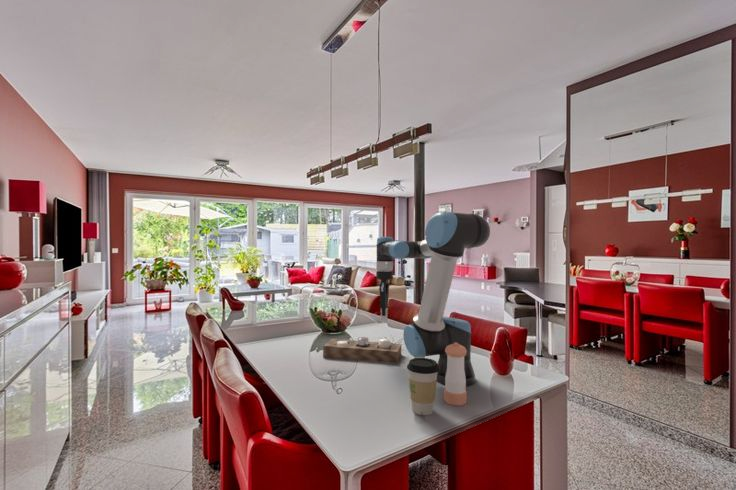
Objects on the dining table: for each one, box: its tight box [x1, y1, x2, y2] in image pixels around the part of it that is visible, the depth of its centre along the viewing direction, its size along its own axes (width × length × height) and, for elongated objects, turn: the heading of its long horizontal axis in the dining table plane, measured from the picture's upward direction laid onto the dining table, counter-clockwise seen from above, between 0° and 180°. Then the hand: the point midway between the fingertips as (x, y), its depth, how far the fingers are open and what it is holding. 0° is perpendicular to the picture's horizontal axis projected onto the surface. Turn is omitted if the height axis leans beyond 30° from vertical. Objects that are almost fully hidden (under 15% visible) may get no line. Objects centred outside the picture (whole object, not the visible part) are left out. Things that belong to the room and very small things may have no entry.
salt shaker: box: [443, 342, 468, 406], centre depth 118 cm, size 7×7×19 cm
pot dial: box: [357, 336, 369, 347], centre depth 166 cm, size 5×5×5 cm
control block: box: [322, 338, 402, 364], centre depth 166 cm, size 34×13×5 cm, turn 77°
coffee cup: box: [406, 357, 439, 416], centre depth 111 cm, size 10×10×15 cm
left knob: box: [337, 341, 348, 346], centre depth 168 cm, size 5×5×5 cm
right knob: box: [378, 338, 391, 349], centre depth 163 cm, size 5×5×5 cm
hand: (384, 322), depth 163 cm, fingers closed
